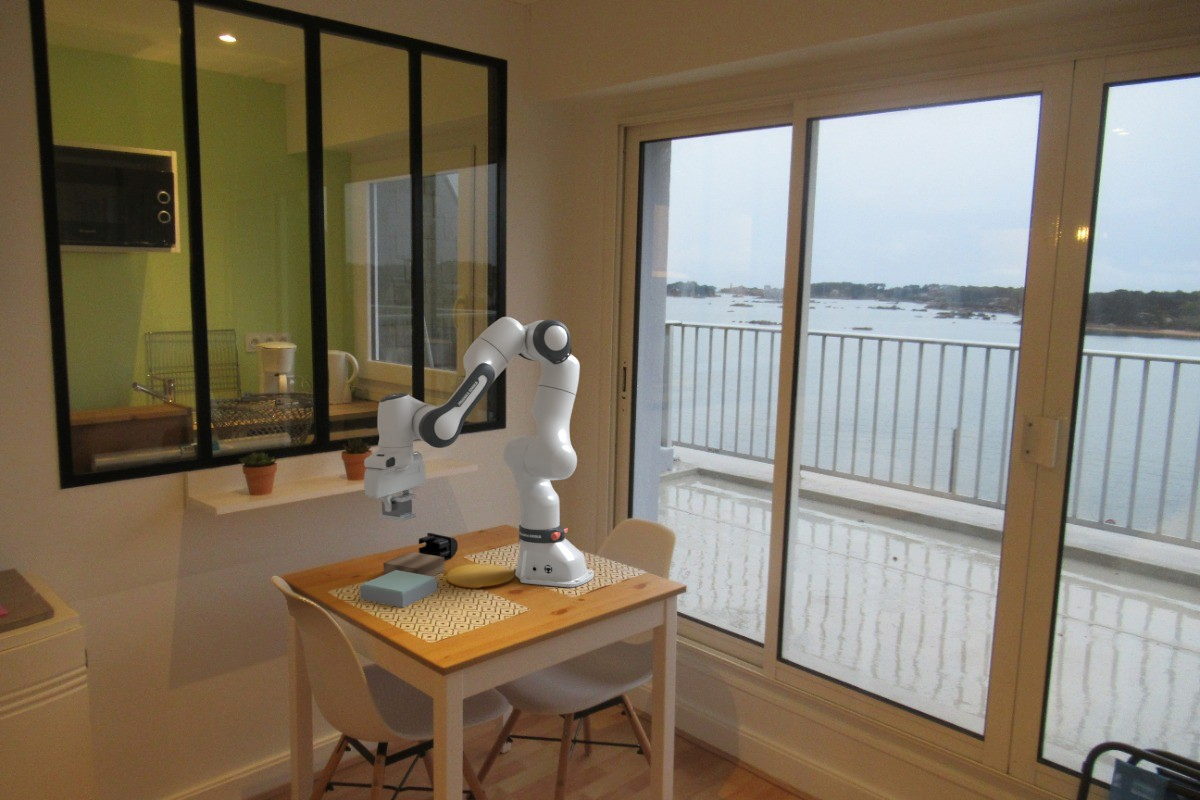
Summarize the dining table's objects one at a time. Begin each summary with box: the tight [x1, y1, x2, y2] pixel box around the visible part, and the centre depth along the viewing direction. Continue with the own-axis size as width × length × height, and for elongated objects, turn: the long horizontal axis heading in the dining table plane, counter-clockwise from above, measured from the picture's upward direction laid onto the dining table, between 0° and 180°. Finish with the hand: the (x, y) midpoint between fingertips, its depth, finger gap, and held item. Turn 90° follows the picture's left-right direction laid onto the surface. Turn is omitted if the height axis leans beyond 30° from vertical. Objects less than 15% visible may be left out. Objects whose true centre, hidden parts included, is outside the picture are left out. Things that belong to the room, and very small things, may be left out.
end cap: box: [418, 532, 459, 562], centre depth 256 cm, size 10×7×7 cm
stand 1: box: [383, 551, 446, 577], centre depth 240 cm, size 12×12×4 cm
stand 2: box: [359, 570, 438, 608], centre depth 223 cm, size 14×14×4 cm
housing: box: [377, 492, 417, 522], centre depth 220 cm, size 8×5×6 cm, turn 63°
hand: (397, 508), depth 220 cm, fingers closed on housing, 5 cm apart
